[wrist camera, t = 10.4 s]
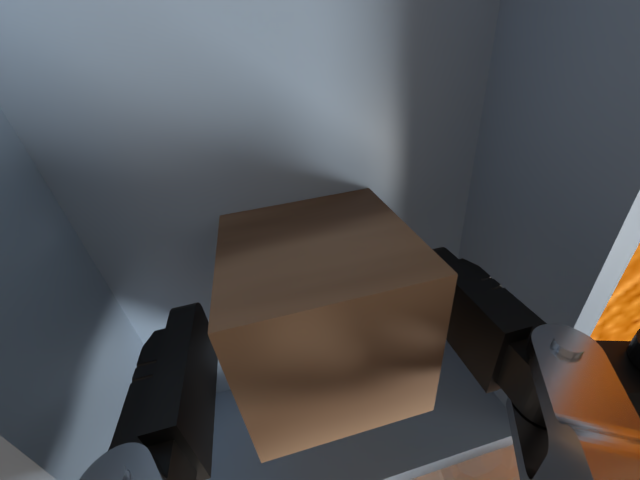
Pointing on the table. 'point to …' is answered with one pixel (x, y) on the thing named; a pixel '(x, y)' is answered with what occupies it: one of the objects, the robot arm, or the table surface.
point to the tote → (295, 188)
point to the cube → (327, 319)
